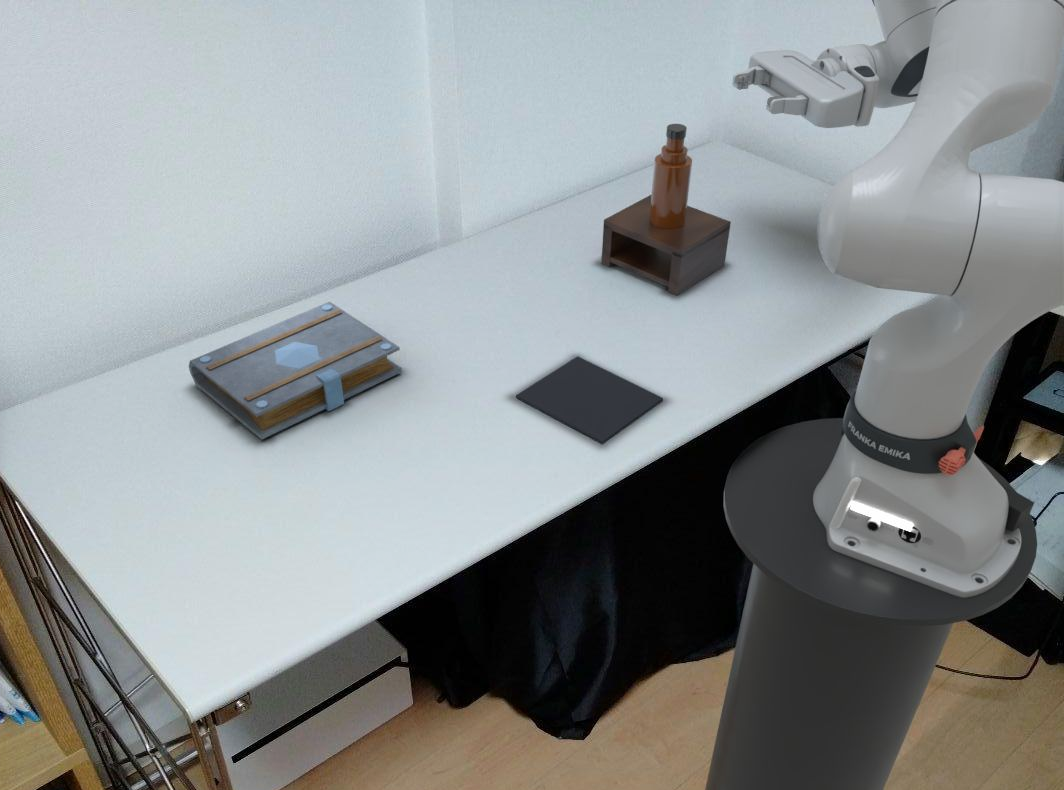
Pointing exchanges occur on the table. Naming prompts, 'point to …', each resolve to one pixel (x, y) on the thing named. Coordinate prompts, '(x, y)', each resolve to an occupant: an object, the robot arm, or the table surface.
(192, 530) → the table surface
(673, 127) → the bottle
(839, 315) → the table surface
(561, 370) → the mat
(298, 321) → the book
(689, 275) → the shelf
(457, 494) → the table surface
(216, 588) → the table surface
